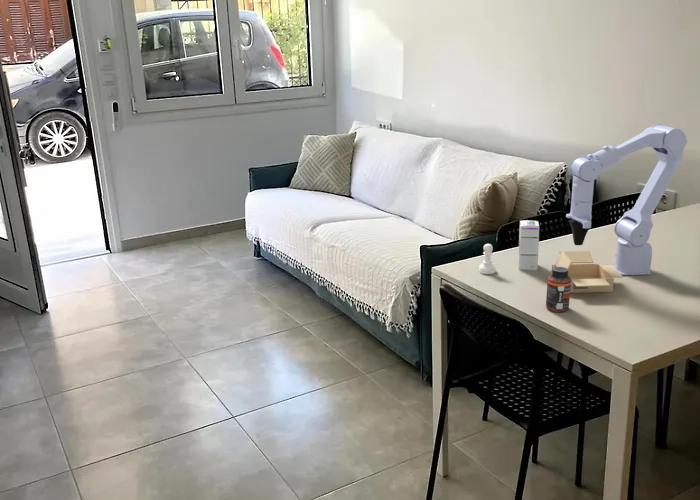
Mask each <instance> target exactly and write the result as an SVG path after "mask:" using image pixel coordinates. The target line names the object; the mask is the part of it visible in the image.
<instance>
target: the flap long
mask: <svg viewBox="0 0 700 500" xmlns="http://www.w3.org/2000/svg"><path fill="white" fill-rule="evenodd" d="M560 252H561V254H559V256H558V258H557V259H556V261H555V264H554V265H556V266H557V267H565V268H567V269H569V267H570V266H571V264H573V263H572V261H571V260H570V259H569V257H568V256H567V255H566V254H565V253H564V252H565V251H563V250H562V251H560Z"/></svg>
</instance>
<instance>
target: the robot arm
mask: <svg viewBox="0 0 700 500" xmlns="http://www.w3.org/2000/svg"><path fill="white" fill-rule="evenodd" d="M687 144H688V139H687V136H686V134H685V132H684V130H682V128H679V127H678V128H677V127H676V128H675V127H671V126H667V125H664V124H661V123H657V124H654V125H652V126H649V127H647V128H644V130H643V131H642V132H641V133H639V134H637V135H634V136H633V137H631V138H630V139H628V140H626V141H624V142H622V143H620V144H619V145H617V146H614V145H606V144H605V145H604V146H603V145H602V147H601V149H600V150H598V151H596V152H594V153H589V154H587V155H586V157H578V158H576V159H575V160H574V161H573V162H572V164H571V166H570V167H569V172H570V174H571V175H572V187H571V190H572V191H571V201H570V212H569V213H566V215H565V217H566V218H567V219H568V223H569V226H570V228H571V233H572V241H573V244H574V246H583V244H584V242H585V238H586V235H587V233H588V231H589V230H590V229H592V218H593V215H592V207H593V197H594V188H595V187H594V185H595V180H596V179H597V178H598V176H599V175H600V173H602V172H604V171H607V170H609V169H610V168H612V167H614V166H617V165H618V164H619V163H620V162H621V160H622V158H624V157H627V156H629V155H631V154H633V153H636V152H638V151H640V150H643V149H646V148H651V149H653V151H655V153H656V156H657V158H658V162H657V164H656V166H655V167H654V169H653V171H652V173H651V174H650V177H649V178H648V180H647V182H646V183H645V186H644V187H643V188H642V191H641V193H640V195H639V196H638V198H637V200H636V202H635V204H634V206H633V208H631V209H629V210H627V211H625V212H624V213H623V215H622V216H621V217H620V218H619V219H618V220H617V221H616V223H615V225H614V228H613V231H614V234H615V235H616V236H617V246H616V254H615V263H614V264H610V265H612V266H613V267H614V268H615V269H616V270H617V271H618V272H619V273H620V274H621V275H622V276H636V275H637V276H640V275H641V276H642V275H644V276H645V275H651V274H652V273H651V267H652V266H651V264H652V257H653V249H652V244H650V243H649V242H648V241H649V240H650V238H651V237H650V236H651V231H652V229H653V226H654V223H653V220H652V215H653V214H654V212H655V210H656V209H657V206H658V205H659V203H660V200H661V199H662V198H663V196H664V194H665V192H666V190H667V188H668V187H669V185H670V183H671V182H672V179H673V177H674V176H675V174H676V172H677V170H678V169H679V167H680V166H681V163H682V161H683V153H684V149H685V147H686V146H687Z"/></svg>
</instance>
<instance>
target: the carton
mask: <svg viewBox="0 0 700 500" xmlns="http://www.w3.org/2000/svg"><path fill="white" fill-rule="evenodd" d="M554 267H557V266H556V265H555V264H551V271H550V273H551V274H552V269H553V268H554ZM551 274H550V275H551ZM568 276H569V277H570V278H571V289H570V294H583V293H584V294H585V293H586V294H589V293H591V294H592V293H613V290H614V280H615V279H616V278H617V279H618V278H624V277H623V276H624V275H621V274H620V273H619V272H618V271H617V270H616V269H615V268H614V267H613V266H612V265H611V264H608V265H607V264H606V265H604V264H603V265H601V264H600V263H572V264H571V266H570V267H569V269H568Z"/></svg>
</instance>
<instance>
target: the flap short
mask: <svg viewBox="0 0 700 500" xmlns="http://www.w3.org/2000/svg"><path fill="white" fill-rule="evenodd" d="M561 252H562V251H559V252H558V253H559V255H560V254H561ZM564 253H565V254H566V255H567V256H568V257H569V259H570V260H571V261H572V264H594V260H593V256H592V253H591V251H590V250H578V251H576V250H575V251H573V250H571V251H564Z"/></svg>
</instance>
